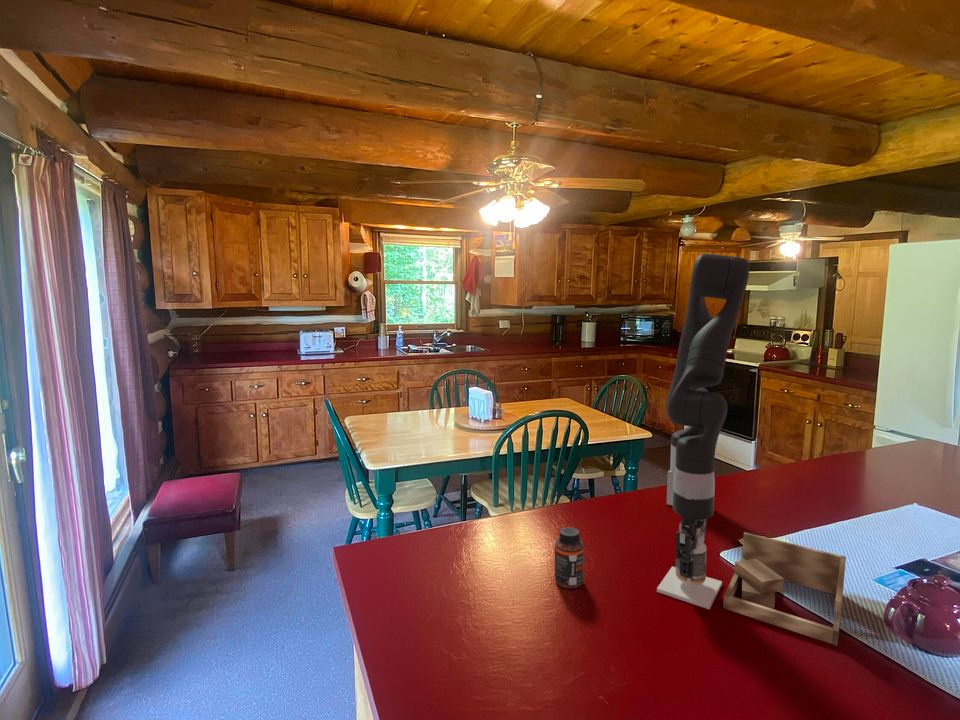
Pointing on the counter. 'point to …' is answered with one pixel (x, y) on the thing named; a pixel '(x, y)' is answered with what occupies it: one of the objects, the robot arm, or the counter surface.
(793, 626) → the wooden box frame
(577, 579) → the supplement bottle
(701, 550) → the pill bottle
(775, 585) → the offcut block upper
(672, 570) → the tile
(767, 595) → the offcut block lower
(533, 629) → the counter surface
